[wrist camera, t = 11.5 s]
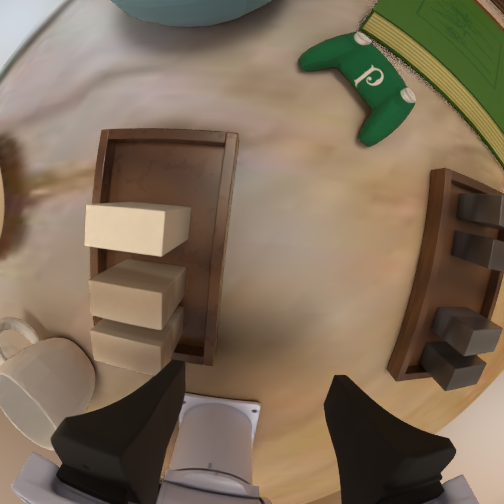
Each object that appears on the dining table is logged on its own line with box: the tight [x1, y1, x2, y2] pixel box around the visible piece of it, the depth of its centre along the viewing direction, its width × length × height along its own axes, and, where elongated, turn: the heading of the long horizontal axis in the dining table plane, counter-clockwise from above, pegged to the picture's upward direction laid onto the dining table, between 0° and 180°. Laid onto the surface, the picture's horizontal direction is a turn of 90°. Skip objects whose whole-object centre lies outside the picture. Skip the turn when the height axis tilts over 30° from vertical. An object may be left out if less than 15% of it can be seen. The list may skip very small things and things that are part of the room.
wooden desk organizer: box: [387, 168, 504, 391], centre depth 19 cm, size 20×12×7 cm, turn 173°
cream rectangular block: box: [85, 202, 191, 257], centre depth 17 cm, size 2×5×6 cm, turn 83°
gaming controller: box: [298, 32, 416, 147], centre depth 17 cm, size 9×4×6 cm
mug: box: [0, 317, 96, 450], centre depth 18 cm, size 13×9×10 cm
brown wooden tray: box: [88, 128, 239, 376], centre depth 18 cm, size 18×11×7 cm, turn 173°
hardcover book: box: [359, 0, 504, 168], centre depth 16 cm, size 25×19×4 cm
